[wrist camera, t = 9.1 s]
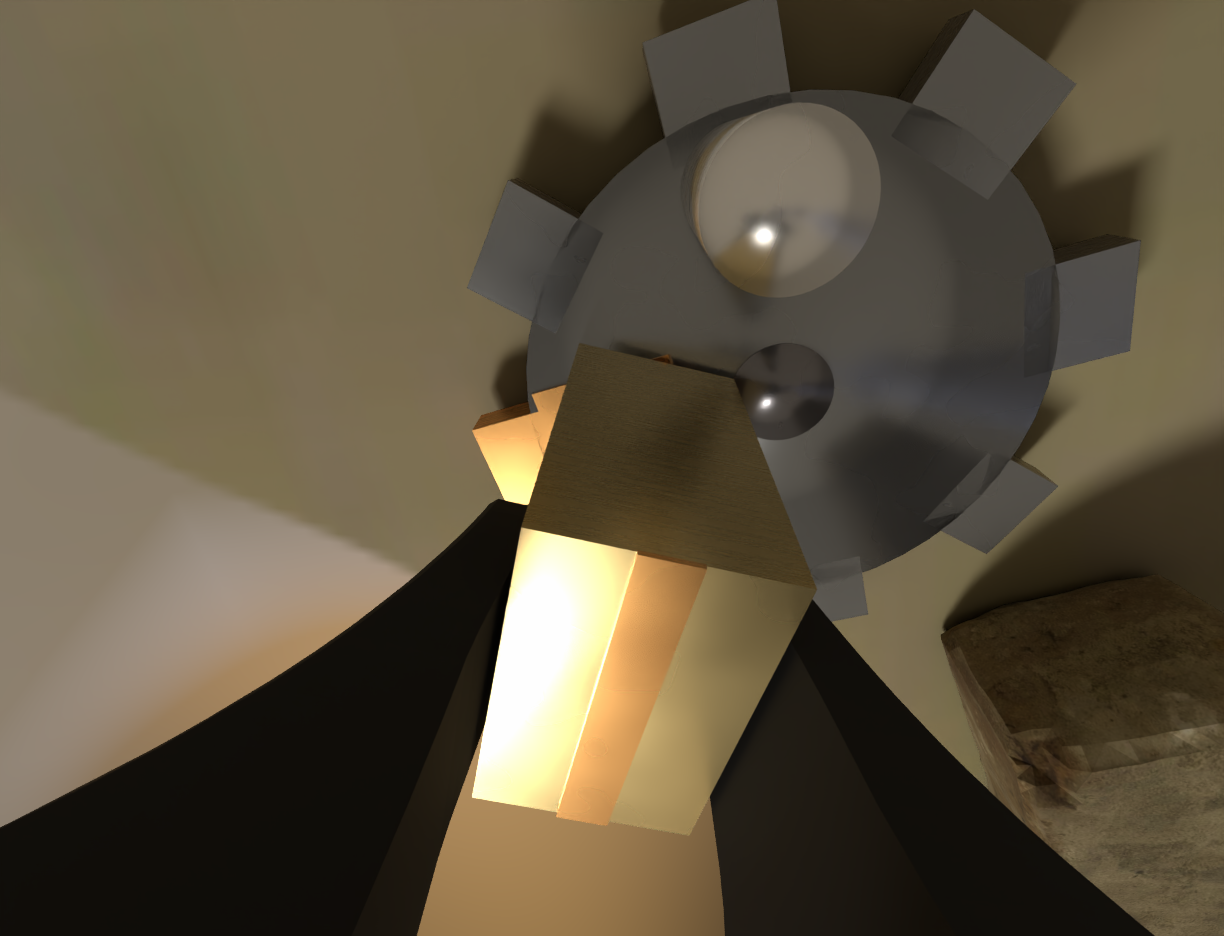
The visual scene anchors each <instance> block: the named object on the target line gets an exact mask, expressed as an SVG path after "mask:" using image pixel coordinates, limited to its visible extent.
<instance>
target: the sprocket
mask: <svg viewBox="0 0 1224 936" xmlns="http://www.w3.org/2000/svg"><path fill="white" fill-rule="evenodd" d="M643 54H644V58H645V62H646V67H647V71H648V75H649V79H650V83H651V87H652V91H653V95H654V100H655V104H656V108H657V112H658V116H659V120H660V124H661V129H662V133H663V137H664V139H662V140H660V141H659V142H657V143H656V144H654V145H652V146H651V147H649V148H648V149H647V150H645V151H644V152H643V153H642V154H640V155H639V156H638V157H637V158H636V159H634V160H633V161H632V162H631V163H630V164H628V165H627V166H626V167H625V168H623V169H622V170H621V171H620V172H619V173H618V174H617V175H616V176H615V177H614V178H613V179H612V180H611V181H610V182H609V183H608V184H607V185H606V186H605V188H604V189H603V190H602V191H601V192H600V193H599V194H598V195H597V196H596V197H595V198H594V199H593V200H592V201H591V203H590V204H589V205H588V206H587V208H586V209H585V210H584V212H583V213H582V214H581V213H579V212H577V211H575V210H573V209H572V208H570V207H568V206H566V205H564V204H563V203H561V202H559V201H557V200H555V199H554V198H552V197H550V196H548V195H547V194H545V193H543V192H541V191H539V190H538V189H536V188H534V187H532V186H530V185H529V184H527V183H525V182H523V181H521V180H520V179H518V178H515V179H511V180H508V182H507V185H506V187H505V190H504V193H503V195H502V198H501V200H500V203H499V206H498V208H497V211H496V213H495V216H494V219H493V221H492V224H491V227H490V229H489V232H488V234H487V237H486V240H485V242H484V245H483V247H482V250H481V253H480V255H479V258H478V261H477V263H476V266H475V268H474V271H473V274H472V276H471V279H470V282H469V284H468V287H467V288H468V289H470V290H472V291H474V292H476V293H478V294H480V295H482V296H484V297H486V298H487V299H489V300H491V301H493V302H495V303H497V304H499V305H501V306H503V307H505V308H507V309H509V310H511V311H513V312H515V313H517V314H519V315H521V316H523V317H525V318H527V319H529V320H530V321H532V325H531V330H530V334H529V342H528V355H527V367H526V372H527V390H528V402H525V403H522V404H518V405H515V406H511V407H508V408H504V409H501V410H497V411H494V412H491V413H487V414H484V415H481V417H480V418H479V420H478V422H477V423H476V425H475V427H474V428H473V430H472V431H473V433H474V435H475V437H476V440H477V442H478V444H479V446H480V448H481V450H482V452H483V454H484V457H485V459H486V461H487V463H488V465H489V467H490V469H491V471H492V473H493V476H494V478H495V480H496V482H497V484H498V486H499V488H500V490H501V493H502V495H503V497H504V499H505V500H506V501H510V502H515V503H520V504H524V505H526V504H529V501H530V498H531V494H532V491H533V488H534V485H535V482H536V479H537V475H538V472H539V469H540V466H541V463H542V460H543V456H544V453H545V450H546V447H547V444H548V441H549V437H550V434H551V431H552V428H553V425H554V422H555V418H556V415H557V412H558V409H559V406H560V402H561V399H562V396H563V393H564V390H565V387H566V383H567V380H568V377H569V374H570V371H571V368H572V364H573V361H574V358H575V355H576V352H577V349H578V345H579V343H582V344H587V345H591V346H595V347H599V348H604V349H608V350H612V351H617V352H621V353H625V354H629V355H634V356H638V357H642V358H647V359H651V360H655V361H659V362H664V363H668V364H672V365H676V366H681V367H685V368H689V369H694V370H698V371H702V372H706V373H711V374H715V375H719V376H724V377H728V378H732V379H734V380H735V383H736V385H737V388H738V390H739V393H740V395H741V398H742V400H743V403H744V405H745V408H746V411H747V413H748V416H749V418H750V421H751V423H752V426H753V428H754V431H755V433H756V436H757V438H758V441H759V443H760V446H761V448H762V451H763V454H764V456H765V459H766V461H767V464H768V466H769V469H770V471H771V474H772V476H773V479H774V481H775V484H776V486H777V489H778V491H779V494H780V497H781V499H782V502H783V504H784V507H785V509H786V512H787V514H788V517H789V519H790V522H791V524H792V527H793V529H794V532H795V535H796V537H797V540H798V542H799V545H800V547H801V550H802V552H803V555H804V557H805V560H806V562H807V565H808V567H809V570H810V572H811V575H812V578H813V580H814V583H815V585H816V588H817V591H816V593H815V595H814V597H813V600H814V601H815V603H816V604H817V605H818V606H819V607H820V609H821V610H822V611H823V612H824V613H825V615H826V616H827V617H828V618H829V619H830V621H836V620H841V619H847V618H852V617H857V616H862V615H867V614H868V611H867V604H866V597H865V590H864V584H863V577H862V572H865V571H868V570H871V569H873V568H876V567H878V566H880V565H882V564H884V563H886V562H889V561H891V560H893V559H895V558H897V557H899V556H901V555H903V554H905V553H906V552H908V551H910V550H911V549H913V548H915V547H916V546H918V545H920V544H921V543H923V542H925V541H926V540H928V539H930V538H931V537H932V536H934V535H935V534H936V533H938V532H939V531H940V530H941V531H943V532H945V533H947V534H949V535H951V536H952V537H954V538H956V539H958V540H960V541H962V542H964V543H966V544H968V545H970V546H972V547H974V548H976V549H978V550H980V551H982V552H984V553H986V554H987V553H988V552H989V551H990V550H991V549H993V548H994V547H995V546H996V545H997V544H998V543H999V542H1000V541H1001V540H1002V539H1003V538H1004V537H1005V536H1006V535H1007V534H1008V533H1009V532H1011V531H1012V530H1013V529H1014V528H1015V527H1016V526H1017V525H1018V524H1019V523H1020V522H1021V521H1022V520H1023V519H1024V518H1025V517H1026V516H1027V515H1029V514H1030V513H1031V512H1032V511H1033V510H1034V509H1035V508H1036V507H1037V506H1038V505H1039V504H1040V503H1041V502H1042V501H1043V500H1044V499H1045V498H1046V497H1048V496H1049V495H1050V494H1051V493H1052V492H1053V491H1054V490H1055V489H1056V488H1057V487H1058V486H1057V485H1056V484H1055V483H1054V482H1053V481H1051V480H1050V479H1049V478H1048V477H1046V476H1045V475H1044V474H1043V473H1041V472H1040V471H1039V470H1038V469H1037V468H1035V467H1033V466H1032V465H1030V464H1028V463H1026V462H1024V461H1023V460H1021V459H1019V458H1017V457H1016V456H1014V453H1015V452H1016V451H1017V449H1018V448H1019V446H1020V444H1021V443H1022V441H1023V439H1024V437H1025V435H1026V434H1027V432H1028V430H1029V428H1030V426H1031V424H1032V423H1033V421H1034V419H1035V417H1036V415H1037V412H1038V410H1039V407H1040V405H1041V402H1042V400H1043V397H1044V395H1045V392H1046V390H1047V387H1048V384H1049V380H1050V376H1051V372H1052V371H1053V370H1057V369H1061V368H1065V367H1069V366H1073V365H1077V364H1081V363H1085V362H1088V361H1092V360H1096V359H1100V358H1104V357H1108V356H1112V355H1116V354H1120V353H1124V352H1128V351H1130V344H1131V334H1132V323H1133V313H1134V303H1135V293H1136V283H1137V273H1138V262H1139V252H1140V242H1141V240H1136V239H1131V238H1125V237H1120V236H1115V235H1109V234H1106V235H1103V236H1099V237H1096V238H1093V239H1089V240H1086V241H1082V242H1079V243H1075V244H1072V245H1068V246H1065V247H1061V248H1058V249H1054V250H1053V249H1052V246H1051V243H1050V241H1049V238H1048V235H1047V233H1046V230H1045V227H1044V225H1043V222H1042V219H1041V217H1040V214H1039V213H1038V211H1037V209H1036V207H1035V206H1034V204H1033V202H1032V201H1031V199H1030V197H1029V195H1028V194H1027V192H1026V190H1025V189H1024V187H1023V185H1022V184H1021V182H1020V181H1019V180H1018V179H1017V178H1016V176H1015V175H1014V174H1013V173H1012V172H1011V171H1010V170H1011V169H1012V168H1013V166H1014V165H1015V164H1016V162H1017V161H1018V160H1019V158H1020V157H1021V156H1022V154H1023V153H1024V152H1025V151H1026V149H1027V148H1028V147H1029V145H1030V144H1031V143H1032V141H1033V140H1034V139H1035V137H1036V136H1037V135H1038V133H1039V132H1040V131H1041V130H1042V128H1043V127H1044V126H1045V124H1046V123H1047V122H1048V120H1049V119H1050V118H1051V116H1052V115H1053V114H1054V113H1055V111H1056V110H1057V109H1058V107H1059V106H1060V105H1061V103H1062V102H1063V101H1064V99H1065V98H1066V97H1067V96H1068V94H1069V93H1070V92H1071V90H1072V89H1073V88H1074V86H1075V85H1076V83H1074V82H1073V81H1072V80H1070V79H1069V78H1068V77H1066V76H1065V75H1064V74H1062V73H1061V72H1059V71H1058V70H1057V69H1055V68H1054V67H1053V66H1051V65H1050V64H1049V63H1047V62H1046V61H1044V60H1043V59H1042V58H1040V57H1039V56H1038V55H1036V54H1035V53H1034V52H1032V51H1031V50H1029V49H1028V48H1027V47H1025V46H1024V45H1023V44H1021V43H1020V42H1019V41H1017V40H1016V39H1014V38H1013V37H1012V36H1010V35H1009V34H1008V33H1006V32H1005V31H1003V30H1002V29H1001V28H999V27H998V26H997V25H995V24H994V23H993V22H991V21H990V20H988V19H987V18H986V17H984V16H983V15H982V14H980V13H979V12H978V11H976V10H975V9H973V10H971V11H968V12H966V13H964V14H961V15H959V16H956V17H954V18H952V19H949V20H948V22H947V23H946V25H945V26H944V28H943V29H942V31H941V33H940V34H939V36H938V37H937V39H936V40H935V42H934V43H933V45H932V47H931V48H930V50H929V51H928V53H927V54H926V56H925V57H924V59H923V61H922V62H921V64H920V65H919V67H918V68H917V70H916V71H915V73H914V75H913V76H912V78H911V79H910V81H909V82H908V84H907V85H906V87H905V89H904V90H903V92H902V93H901V95H900V96H899V98H898V99H897V98H893V97H888V96H882V95H876V94H871V93H865V92H859V91H854V90H804V91H797V92H790V86H789V79H788V73H787V66H786V59H785V53H784V46H783V39H782V32H781V26H780V19H779V12H778V5H777V0H749V1H747V2H744V3H742V4H739V5H737V6H734V7H731V8H729V9H726V10H724V11H721V12H719V13H716V14H714V15H711V16H709V17H706V18H704V19H701V20H699V21H696V22H694V23H691V24H689V25H686V26H684V27H681V28H679V29H676V30H673V31H671V32H668V33H666V34H663V35H661V36H658V37H656V38H653V39H651V40H648V41H646V42H643Z"/></svg>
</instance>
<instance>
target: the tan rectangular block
mask: <svg viewBox="0 0 1224 936" xmlns="http://www.w3.org/2000/svg"><path fill="white" fill-rule="evenodd" d="M816 591H817V588H816V585H815V583H814V580H813V578H812V575H811V572H810V570H809V567H808V565H807V562H806V560H805V557H804V555H803V552H802V550H801V547H800V545H799V542H798V540H797V537H796V535H795V532H794V529H793V527H792V524H791V522H790V519H789V517H788V514H787V512H786V509H785V507H784V504H783V502H782V499H781V497H780V494H779V491H778V489H777V486H776V484H775V481H774V479H773V476H772V474H771V471H770V469H769V466H768V464H767V461H766V459H765V456H764V454H763V451H762V448H761V446H760V443H759V441H758V438H757V436H756V433H755V431H754V428H753V426H752V423H751V421H750V418H749V416H748V413H747V411H746V408H745V405H744V403H743V400H742V398H741V395H740V393H739V390H738V388H737V385H736V383H735V380H734V379H732V378H728V377H724V376H719V375H715V374H711V373H706V372H702V371H698V370H694V369H689V368H685V367H681V366H676V365H672V364H668V363H664V362H659V361H655V360H651V359H647V358H642V357H638V356H634V355H629V354H625V353H621V352H617V351H612V350H608V349H604V348H599V347H595V346H591V345H587V344H582V343H579V345H578V349H577V352H576V355H575V358H574V361H573V364H572V368H571V371H570V374H569V377H568V380H567V383H566V387H565V390H564V393H563V396H562V399H561V402H560V406H559V409H558V412H557V415H556V418H555V422H554V425H553V428H552V431H551V434H550V437H549V441H548V444H547V447H546V450H545V453H544V456H543V460H542V463H541V466H540V469H539V472H538V475H537V479H536V482H535V485H534V488H533V491H532V494H531V498H530V501H529V504H528V507H527V510H526V513H525V517H524V520H523V523H522V526H521V531H520V536H519V542H518V547H517V553H516V558H515V564H514V569H513V575H512V580H511V586H510V591H509V597H508V602H507V608H506V613H505V619H504V624H503V630H502V635H501V641H500V646H499V652H498V657H497V663H496V668H495V674H494V679H493V685H492V690H491V696H490V702H489V707H488V713H487V718H486V724H485V729H484V735H483V740H482V746H481V752H480V757H479V762H478V768H477V773H476V779H475V784H474V790H473V795H472V797H474V798H479V799H485V800H491V801H497V802H502V803H508V804H514V805H519V806H525V807H530V808H536V809H542V810H547V811H553V812H557V814H556V817H558V818H564V819H570V820H575V821H581V822H587V823H593V824H599V825H604V826H607V825H608V822H609V821H610V822H615V823H621V824H627V825H632V826H638V827H644V828H649V829H655V830H661V831H666V832H672V833H678V834H684V835H690V833H691V831H692V829H693V827H694V826H695V824H696V822H697V820H698V818H699V816H700V814H701V812H702V810H703V808H704V806H705V804H706V802H707V801H708V799H709V797H710V795H711V793H712V791H713V789H714V787H715V785H716V783H717V781H718V779H719V777H720V776H721V774H722V772H723V770H724V768H725V766H726V764H727V762H728V760H729V758H730V756H731V754H732V753H733V751H734V749H735V747H736V745H737V743H738V741H739V739H740V737H741V735H742V733H743V731H744V729H745V728H746V726H747V724H748V722H749V720H750V718H751V716H752V714H753V712H754V710H755V708H756V706H757V704H758V703H759V701H760V699H761V697H762V695H763V693H764V691H765V689H766V687H767V685H768V683H769V681H770V680H771V678H772V676H773V674H774V672H775V670H776V668H777V666H778V664H779V662H780V660H781V658H782V656H783V655H784V653H785V651H786V649H787V647H788V645H789V643H790V641H791V639H792V637H793V635H794V633H795V631H796V630H797V628H798V626H799V624H800V622H801V620H802V618H803V616H804V614H805V612H806V610H807V608H808V607H809V605H810V603H811V601H812V599H813V597H814V595H815V593H816Z"/></svg>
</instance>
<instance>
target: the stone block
mask: <svg viewBox="0 0 1224 936" xmlns="http://www.w3.org/2000/svg"><path fill="white" fill-rule="evenodd" d="M941 640H942V643H943V646H944V649H945V652H946V655H947V658H948V662H949V665H950V668H951V671H952V674H953V676H954V679H955V682H956V685H957V688H958V691H959V694H960V697H961V700H962V703H963V707H964V710H965V713H966V716H967V720H968V723H969V726H970V729H971V732H972V735H973V738H974V740H975V743H976V745H977V748H978V750H979V753H980V760H981V762H982V765H983V767H984V770H985V773H986V777H987V781H988V790H989V791H990V792H991V793H992V794H993V795H994V796H995V797H996V798H997V799H998V800H1000V801H1001V802H1002V803H1003V804H1004V805H1005V806H1006V807H1007V808H1008V809H1009V810H1010V811H1011V812H1012V813H1013V814H1014V815H1015V816H1016V817H1018V818H1019V819H1020V820H1021V821H1022V822H1023V823H1024V824H1025V825H1026V826H1027V827H1028V828H1029V829H1031V830H1032V831H1033V832H1034V833H1035V834H1036V835H1037V836H1038V837H1040V838H1041V839H1042V840H1043V841H1044V842H1045V843H1046V844H1047V845H1049V846H1050V847H1051V848H1052V849H1053V850H1054V851H1055V852H1056V853H1058V854H1059V855H1060V856H1061V857H1062V858H1063V859H1064V860H1066V861H1067V862H1068V863H1069V864H1070V865H1071V866H1073V867H1074V868H1075V869H1076V870H1077V871H1079V872H1080V873H1081V874H1082V875H1083V876H1084V877H1086V878H1087V879H1088V880H1089V881H1090V882H1092V883H1093V884H1094V885H1095V886H1096V887H1097V888H1099V889H1100V890H1101V891H1102V892H1103V893H1105V894H1106V895H1107V896H1108V897H1109V898H1110V899H1112V900H1113V901H1114V902H1115V903H1116V904H1117V905H1119V906H1120V907H1121V908H1122V909H1123V910H1125V911H1126V912H1127V913H1128V914H1129V915H1130V916H1132V917H1133V918H1134V919H1135V920H1136V921H1138V922H1139V923H1140V924H1141V925H1142V926H1144V927H1145V928H1146V929H1147V930H1149V931H1150V932H1151V933H1152V934H1154V935H1155V936H1224V613H1222V612H1221V611H1219V610H1217V609H1216V608H1214V607H1213V606H1211V605H1209V604H1208V603H1206V602H1204V601H1203V600H1201V599H1199V598H1198V597H1196V596H1194V595H1192V594H1191V593H1189V592H1187V591H1186V590H1184V589H1183V588H1181V587H1180V586H1178V585H1176V584H1174V583H1173V582H1171V581H1169V580H1167V579H1165V578H1163V577H1162V576H1160V575H1158V574H1155V575H1150V576H1146V577H1141V578H1133V579H1124V580H1115V581H1109V582H1104V583H1099V584H1095V585H1091V586H1087V587H1083V588H1080V589H1076V590H1073V591H1070V592H1066V593H1062V594H1058V595H1053V596H1049V597H1044V598H1039V599H1035V600H1031V601H1024V602H1015V603H1011V604H1007V605H1003V606H1000V607H998V608H995V609H993V610H991V611H988V612H987V613H985V614H983V615H981V616H979V617H977V618H975V619H973V620H969V621H965V622H963V623H961V624H959V625H956V626H954V627H952V628H950V629H949V630H947V631H946V632H944V633H943V634H941Z"/></svg>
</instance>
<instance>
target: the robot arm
mask: <svg viewBox="0 0 1224 936" xmlns="http://www.w3.org/2000/svg"><path fill="white" fill-rule="evenodd" d="M527 507H528V505H524V504H520V503H515V502H510V501H506V500H501V499H497V500H496V501H494V502H492V503H490V504H489V505H488V506H487V508H486V509H485V510H484V511H483V512H482V513H481V514H480V515H479V516H478V517H477V519H476V520H475V521H474V522H473V523H472V524H471V525H470V526H469V527H468V528H467V529H466V530H465V531H464V532H463V533H462V534H461V535H460V536H459V537H458V538H457V539H456V540H454V541H453V542H452V543H451V544H450V545H449V546H448V547H447V548H446V549H445V550H444V551H443V552H442V553H440V554H439V555H438V556H437V557H436V558H435V559H434V560H432V561H431V562H430V563H429V564H428V565H427V566H426V567H425V568H423V569H422V570H421V571H420V572H419V573H418V574H417V575H415V576H414V577H413V578H412V579H411V580H410V581H409V582H407V583H406V584H405V585H404V586H402V587H401V588H400V589H399V590H397V591H396V592H395V593H393V594H392V595H391V596H390V597H388V598H387V599H386V600H384V601H383V602H382V603H381V604H379V605H378V606H377V607H375V608H374V609H373V610H372V611H370V612H369V613H368V614H366V615H365V616H364V617H363V618H361V619H360V620H359V621H358V622H356V623H355V624H353V625H352V626H351V627H349V628H348V629H346V630H345V631H344V632H342V633H341V634H340V635H338V636H337V637H335V638H334V639H332V640H331V641H329V642H328V643H327V644H325V645H324V646H322V647H321V648H319V649H318V650H316V651H315V652H313V653H312V654H311V655H309V656H307V657H306V658H304V659H303V660H301V661H300V662H299V663H297V664H295V665H294V666H292V667H291V668H289V669H288V670H286V671H285V672H283V673H282V674H280V675H278V676H277V677H275V678H274V679H272V680H271V681H269V682H267V683H266V684H264V685H262V686H261V687H259V688H257V689H256V690H254V691H252V692H251V693H249V694H248V695H246V696H244V697H242V698H241V699H239V700H237V701H236V702H234V703H232V704H231V705H229V706H227V707H226V708H224V709H222V710H221V711H219V712H217V713H216V714H214V715H212V716H211V717H209V718H208V719H206V720H204V721H202V722H200V723H199V724H197V725H195V726H193V727H192V728H190V729H188V730H186V731H184V732H183V733H181V734H179V735H178V736H176V737H174V738H172V739H170V740H168V741H167V742H165V743H163V744H161V745H159V746H158V747H156V748H154V749H152V750H150V751H148V752H146V753H144V754H143V755H141V756H139V757H137V758H135V759H133V760H131V761H129V762H127V763H125V764H123V765H121V766H119V767H117V768H115V769H113V770H111V771H109V772H108V773H106V774H104V775H102V776H100V777H98V778H96V779H94V780H92V781H90V782H88V783H86V784H84V785H82V786H80V787H78V788H77V789H75V790H73V791H71V792H69V793H67V794H65V795H63V796H61V797H59V798H57V799H55V800H53V801H51V802H49V803H47V804H46V805H44V806H42V807H40V808H38V809H36V810H34V811H32V812H30V813H28V814H26V815H24V816H22V817H20V818H18V819H16V820H15V821H13V822H11V823H8V824H6V825H4V826H2V827H0V936H417V933H418V929H419V925H420V922H421V918H422V915H423V911H424V907H425V903H426V900H427V896H428V893H429V889H430V885H431V881H432V878H433V874H434V871H435V867H436V863H437V860H438V856H439V853H440V850H441V847H442V844H443V841H444V838H445V835H446V831H447V828H448V825H449V822H450V820H451V817H452V814H453V811H454V809H455V806H456V803H457V800H458V797H459V795H460V792H461V789H462V786H463V783H464V781H465V778H466V775H467V773H468V770H469V767H470V764H471V761H472V759H473V756H474V753H475V750H476V748H477V745H478V742H479V739H480V737H481V734H482V731H483V728H484V725H485V723H486V718H487V713H488V707H489V702H490V696H491V690H492V685H493V679H494V674H495V668H496V663H497V657H498V652H499V646H500V641H501V635H502V630H503V624H504V619H505V613H506V608H507V602H508V597H509V591H510V586H511V580H512V575H513V569H514V564H515V558H516V553H517V547H518V542H519V536H520V531H521V526H522V523H523V520H524V517H525V513H526V510H527ZM710 801H711V807H712V815H713V822H714V830H715V837H716V844H717V852H718V859H719V867H720V875H721V886H722V896H723V906H724V924H725V936H1155V935H1154V934H1152V933H1151V932H1150V931H1149V930H1147V929H1146V928H1145V927H1144V926H1142V925H1141V924H1140V923H1139V922H1138V921H1136V920H1135V919H1134V918H1133V917H1132V916H1130V915H1129V914H1128V913H1127V912H1126V911H1125V910H1123V909H1122V908H1121V907H1120V906H1119V905H1117V904H1116V903H1115V902H1114V901H1113V900H1112V899H1110V898H1109V897H1108V896H1107V895H1106V894H1105V893H1103V892H1102V891H1101V890H1100V889H1099V888H1097V887H1096V886H1095V885H1094V884H1093V883H1092V882H1090V881H1089V880H1088V879H1087V878H1086V877H1084V876H1083V875H1082V874H1081V873H1080V872H1079V871H1077V870H1076V869H1075V868H1074V867H1073V866H1071V865H1070V864H1069V863H1068V862H1067V861H1066V860H1064V859H1063V858H1062V857H1061V856H1060V855H1059V854H1058V853H1056V852H1055V851H1054V850H1053V849H1052V848H1051V847H1050V846H1049V845H1047V844H1046V843H1045V842H1044V841H1043V840H1042V839H1041V838H1040V837H1038V836H1037V835H1036V834H1035V833H1034V832H1033V831H1032V830H1031V829H1029V828H1028V827H1027V826H1026V825H1025V824H1024V823H1023V822H1022V821H1021V820H1020V819H1019V818H1018V817H1016V816H1015V815H1014V814H1013V813H1012V812H1011V811H1010V810H1009V809H1008V808H1007V807H1006V806H1005V805H1004V804H1003V803H1002V802H1001V801H1000V800H998V799H997V798H996V797H995V796H994V795H993V794H992V793H991V792H990V791H989V790H988V789H987V788H986V787H985V786H984V785H983V784H982V783H980V782H979V781H978V780H977V779H976V778H975V777H974V776H973V775H972V774H971V773H970V772H969V771H968V770H967V769H966V768H965V767H964V766H963V765H962V764H961V763H960V762H959V761H958V760H957V759H956V758H955V757H954V756H953V755H952V754H951V753H950V752H949V751H948V750H947V749H946V748H945V747H944V746H943V745H942V744H941V743H940V742H939V741H938V740H937V739H936V738H935V737H934V736H933V735H932V734H931V733H930V732H929V731H928V730H927V729H926V728H925V726H924V725H923V724H922V723H921V722H920V721H919V720H918V719H917V718H916V717H915V716H914V715H913V714H912V713H911V712H910V711H909V710H908V708H907V707H906V706H905V705H904V704H903V703H902V702H901V701H900V700H899V699H898V698H897V697H896V696H895V695H894V693H893V692H892V691H891V690H890V689H889V688H888V687H887V686H886V685H885V683H884V682H883V681H882V680H881V679H880V678H879V677H878V676H877V674H876V673H875V672H874V671H873V670H872V669H871V668H870V666H869V665H868V664H867V663H866V662H865V661H864V660H863V658H862V657H861V656H860V655H859V654H858V653H857V651H856V650H855V649H854V648H853V647H852V646H851V644H850V643H849V642H848V641H847V640H846V639H845V637H844V636H843V635H842V634H841V633H840V631H839V630H838V629H837V628H836V627H835V626H834V624H833V623H832V622H831V621H830V619H829V618H828V617H827V616H826V615H825V613H824V612H823V611H822V610H821V609H820V607H819V606H818V605H817V604H816V603H815V601H814V600H813V599H812V601H811V603H810V605H809V607H808V608H807V610H806V612H805V614H804V616H803V618H802V620H801V622H800V624H799V626H798V628H797V630H796V631H795V633H794V635H793V637H792V639H791V641H790V643H789V645H788V647H787V649H786V651H785V653H784V655H783V656H782V658H781V660H780V662H779V664H778V666H777V668H776V670H775V672H774V674H773V676H772V678H771V680H770V681H769V683H768V685H767V687H766V689H765V691H764V693H763V695H762V697H761V699H760V701H759V703H758V704H757V706H756V708H755V710H754V712H753V714H752V716H751V718H750V720H749V722H748V724H747V726H746V728H745V729H744V731H743V733H742V735H741V737H740V739H739V741H738V743H737V745H736V747H735V749H734V751H733V753H732V754H731V756H730V758H729V760H728V762H727V764H726V766H725V768H724V770H723V772H722V774H721V776H720V777H719V779H718V781H717V783H716V785H715V787H714V789H713V791H712V793H711V795H710Z"/></svg>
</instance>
